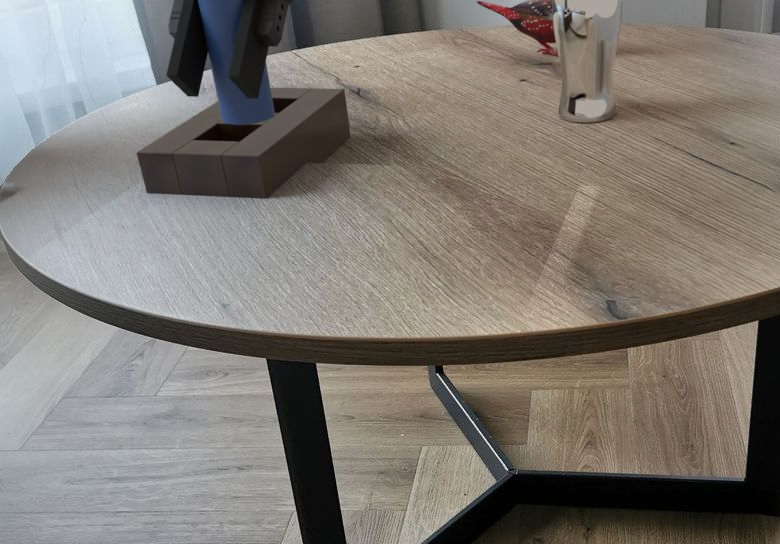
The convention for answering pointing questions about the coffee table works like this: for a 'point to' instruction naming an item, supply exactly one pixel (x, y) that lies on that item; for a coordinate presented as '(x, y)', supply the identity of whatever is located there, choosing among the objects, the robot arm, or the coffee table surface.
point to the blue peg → (220, 28)
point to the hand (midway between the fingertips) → (212, 86)
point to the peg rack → (247, 147)
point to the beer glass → (587, 57)
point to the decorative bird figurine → (530, 20)
